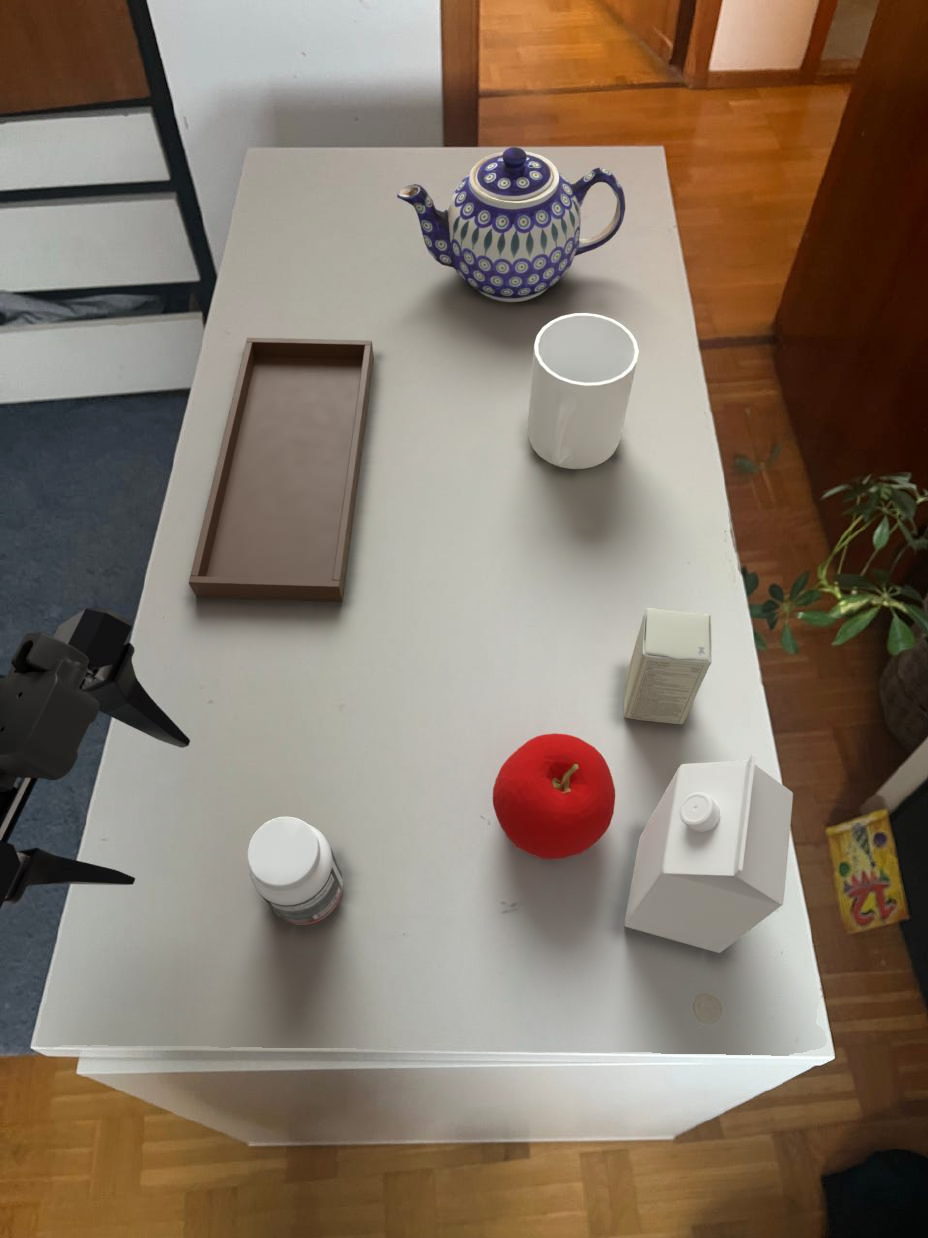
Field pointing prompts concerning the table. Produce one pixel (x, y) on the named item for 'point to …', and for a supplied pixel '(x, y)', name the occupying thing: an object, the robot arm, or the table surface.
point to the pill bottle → (294, 870)
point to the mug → (580, 389)
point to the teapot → (512, 224)
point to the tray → (287, 473)
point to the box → (667, 665)
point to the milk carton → (712, 855)
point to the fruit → (554, 796)
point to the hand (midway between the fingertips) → (160, 810)
